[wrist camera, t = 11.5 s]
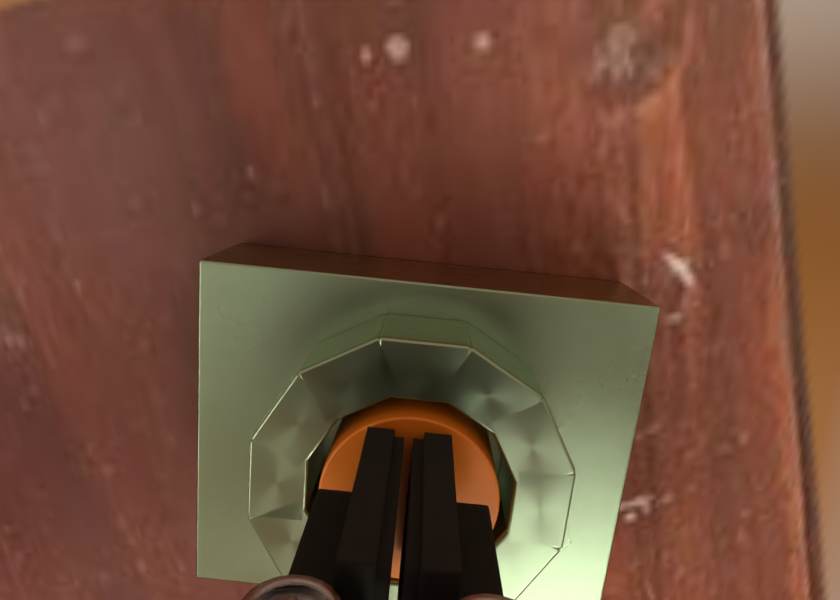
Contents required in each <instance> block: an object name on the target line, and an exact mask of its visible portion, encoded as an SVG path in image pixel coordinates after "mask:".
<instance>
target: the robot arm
mask: <svg viewBox="0 0 840 600" xmlns="http://www.w3.org/2000/svg"><path fill="white" fill-rule="evenodd" d="M394 434H395V429H387V428H377V427H368V428H367V432H366V436H365V440H364V444H363V448H362V452H361V457H360V461H359V465H358V469H357V473H356V477H355V481H354V485H353V490H352V492H349V491H339V490H329V489H318V491H317V494H316V496H315V499H314V502H313V505H312V508H311V511H310V514H309V516H308V519H307V522H306V525H305V528H304V531H303V534H302V537H301V539H300V542H299V545H298V548H297V551H296V554H295V557H294V560H293V562H292V565H291V568H290V571H289V574H288V575H284V576H278V577H275V578H272V579H269V580H266V581H263V582H262V583H260V584H259V585H257V586H256V587H254V588H253V589H251V590H250V591H249V592H248V593H247V594H246V595H245V597H244V598H243V599H242V600H389V590H390V580H391V570H392V560H393V550H394V540H395V530H396V520H397V510H398V500H399V490H400V480H401V470H402V460H403V449H404V439H405V438H404V437H394ZM397 600H514V599H511V598H508V597H505V596H503V589H502V583H501V577H500V571H499V565H498V559H497V553H496V547H495V541H494V535H493V529H492V522H491V516H490V511H489V507H488V506H487V505H480V504H470V503H459V502H457V499H456V485H455V472H454V458H453V444H452V435H447V434H437V433H427V432H425V433H424V439H414V438H413V446H412V456H411V465H410V475H409V484H408V494H407V503H406V513H405V523H404V532H403V542H402V551H401V561H400V572H399V584H398V596H397Z"/></svg>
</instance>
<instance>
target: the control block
mask: <svg viewBox="0 0 840 600" xmlns="http://www.w3.org/2000/svg"><path fill="white" fill-rule="evenodd" d="M659 313H660V307H659V306H658V305H656V304H654V303H653V302H651V301H650V300H648V299H647V298H645V297H643V296H642V295H640V294H639V293H637V292H636V291H634V290H633V289H631V288H629V287H628V286H626V285H625V284H623V283H622V282H617V281H607V280H597V279H587V278H577V277H567V276H558V275H548V274H538V273H528V272H518V271H508V270H499V269H489V268H479V267H469V266H459V265H449V264H440V263H430V262H420V261H410V260H400V259H390V258H380V257H371V256H361V255H351V254H341V253H331V252H321V251H312V250H302V249H292V248H282V247H272V246H262V245H253V244H243V243H240V244H238V245H235V246H233V247H231V248H228V249H226V250H223V251H221V252H219V253H216V254H214V255H211V256H209V257H207V258H204V259H202V260H200V262H199V345H198V451H197V558H196V576H197V577H198V578H206V579H216V580H226V581H236V582H246V583H255V584H260V583H262V582H263V581H266V580H269V579H272V578H275V577H278V576H284V575H288V574H289V571H290V568H291V565H292V562H293V560H294V557H295V554H296V551H297V548H298V545H299V542H300V539H301V537H302V534H303V531H304V528H305V525H306V522H307V519H308V516H309V514H310V511H311V508H312V505H313V502H314V499H315V496H316V494H317V491H318V488H319V481H320V477H321V474H322V470H323V468H324V465H325V462H326V459H327V457H328V454H329V451H330V448H331V446H332V443H333V440H334V437H335V435H336V432H337V430H338V428H339V425H340V423H341V422H342V420H343V419H344V417H345V416H347V415H349V414H352V413H354V412H356V411H359V410H361V409H364V408H366V407H368V406H371V405H373V404H376V403H378V402H380V401H383V400H385V399H388V398H390V397H394V398H404V399H414V400H423V401H433V402H443V403H448V404H450V405H451V406H453V407H454V408H456V409H457V410H459V411H460V412H462V413H463V414H465V415H466V416H468V417H469V418H470V419H472V420H473V421H475V422H476V423H478V424H479V425H481V426H482V427H484V428H485V430H486V432H487V435H488V437H489V441H490V446H491V450H492V455H493V460H494V465H495V470H496V475H497V480H498V485H499V494H500V504H499V512H498V517H497V521H496V523H495V526H494V528H493V535H494V541H495V547H496V553H497V559H498V565H499V571H500V577H501V583H502V589H503V596H505V597H508V598H511V599H514V600H601V599H602V594H603V589H604V584H605V579H606V574H607V569H608V564H609V559H610V554H611V550H612V545H613V540H614V535H615V530H616V525H617V520H618V515H619V510H620V505H621V500H622V495H623V490H624V485H625V480H626V475H627V471H628V466H629V461H630V456H631V451H632V446H633V441H634V436H635V431H636V426H637V421H638V416H639V411H640V406H641V401H642V396H643V392H644V387H645V382H646V377H647V372H648V367H649V362H650V357H651V352H652V347H653V342H654V337H655V332H656V327H657V322H658V317H659ZM398 584H399V579H398V578H392V577H391V580H390V590H389V600H397V596H398Z"/></svg>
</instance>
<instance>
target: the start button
mask: <svg viewBox="0 0 840 600" xmlns="http://www.w3.org/2000/svg"><path fill="white" fill-rule="evenodd" d="M368 427H377V428H387V429H395V434H394V437H404V438H405V439H404V449H403V460H402V470H401V480H400V490H399V500H398V510H397V520H396V530H395V540H394V550H393V560H392V570H391V577H392V578H398V579H399V572H400V561H401V551H402V542H403V532H404V523H405V513H406V503H407V494H408V484H409V475H410V465H411V456H412V446H413V438H414V439H424V433H425V432H427V433H437V434H447V435H452V444H453V458H454V472H455V485H456V499H457V502H459V503H470V504H480V505H487V506H488V507H489V511H490V516H491V522H492V529H493V528H494V526H495V523H496V521H497V517H498V512H499V504H500V494H499V485H498V480H497V475H496V470H495V465H494V460H493V455H492V450H491V446H490V441H489V437H488V435H487V432H486V430H485V428H484V427H482V426H481V425H479V424H478V423H476V422H475V421H473V420H472V419H470V418H469V417H468V416H466V415H465V414H463V413H462V412H460V411H459V410H457V409H456V408H454V407H453V406H451V405H450V404H448V403H443V402H433V401H423V400H414V399H404V398H394V397H390V398H388V399H385V400H383V401H380V402H378V403H376V404H373V405H371V406H368V407H366V408H364V409H361V410H359V411H356V412H354V413H352V414H349V415H347V416H345V417H344V419H343V420H342V422H341V423H340V425H339V428H338V430H337V432H336V435H335V437H334V440H333V443H332V446H331V448H330V451H329V454H328V457H327V459H326V462H325V465H324V468H323V470H322V474H321V477H320V481H319V488H318V489H329V490H339V491H349V492H352V490H353V485H354V481H355V477H356V473H357V469H358V465H359V461H360V457H361V452H362V448H363V444H364V440H365V436H366V432H367V428H368Z"/></svg>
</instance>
